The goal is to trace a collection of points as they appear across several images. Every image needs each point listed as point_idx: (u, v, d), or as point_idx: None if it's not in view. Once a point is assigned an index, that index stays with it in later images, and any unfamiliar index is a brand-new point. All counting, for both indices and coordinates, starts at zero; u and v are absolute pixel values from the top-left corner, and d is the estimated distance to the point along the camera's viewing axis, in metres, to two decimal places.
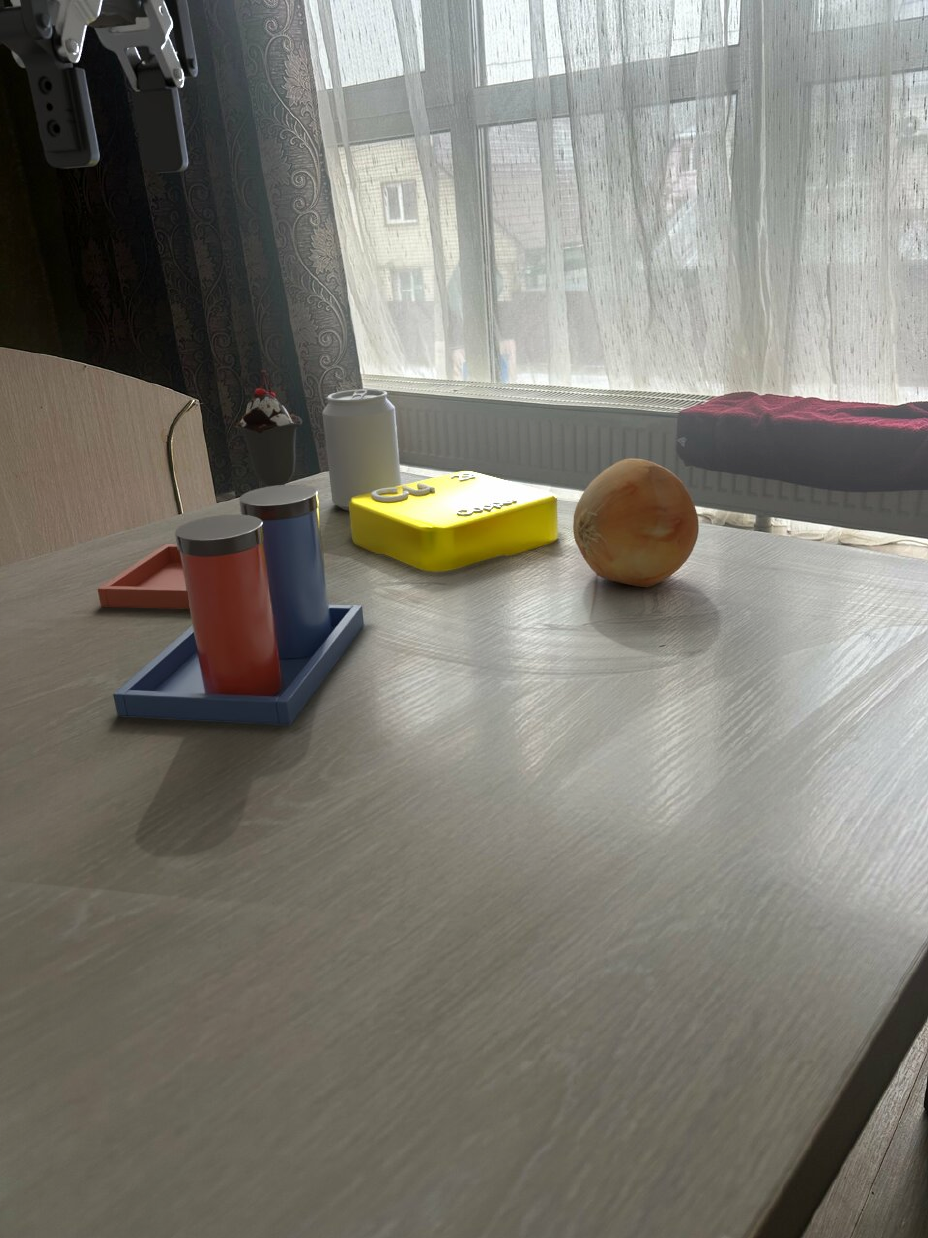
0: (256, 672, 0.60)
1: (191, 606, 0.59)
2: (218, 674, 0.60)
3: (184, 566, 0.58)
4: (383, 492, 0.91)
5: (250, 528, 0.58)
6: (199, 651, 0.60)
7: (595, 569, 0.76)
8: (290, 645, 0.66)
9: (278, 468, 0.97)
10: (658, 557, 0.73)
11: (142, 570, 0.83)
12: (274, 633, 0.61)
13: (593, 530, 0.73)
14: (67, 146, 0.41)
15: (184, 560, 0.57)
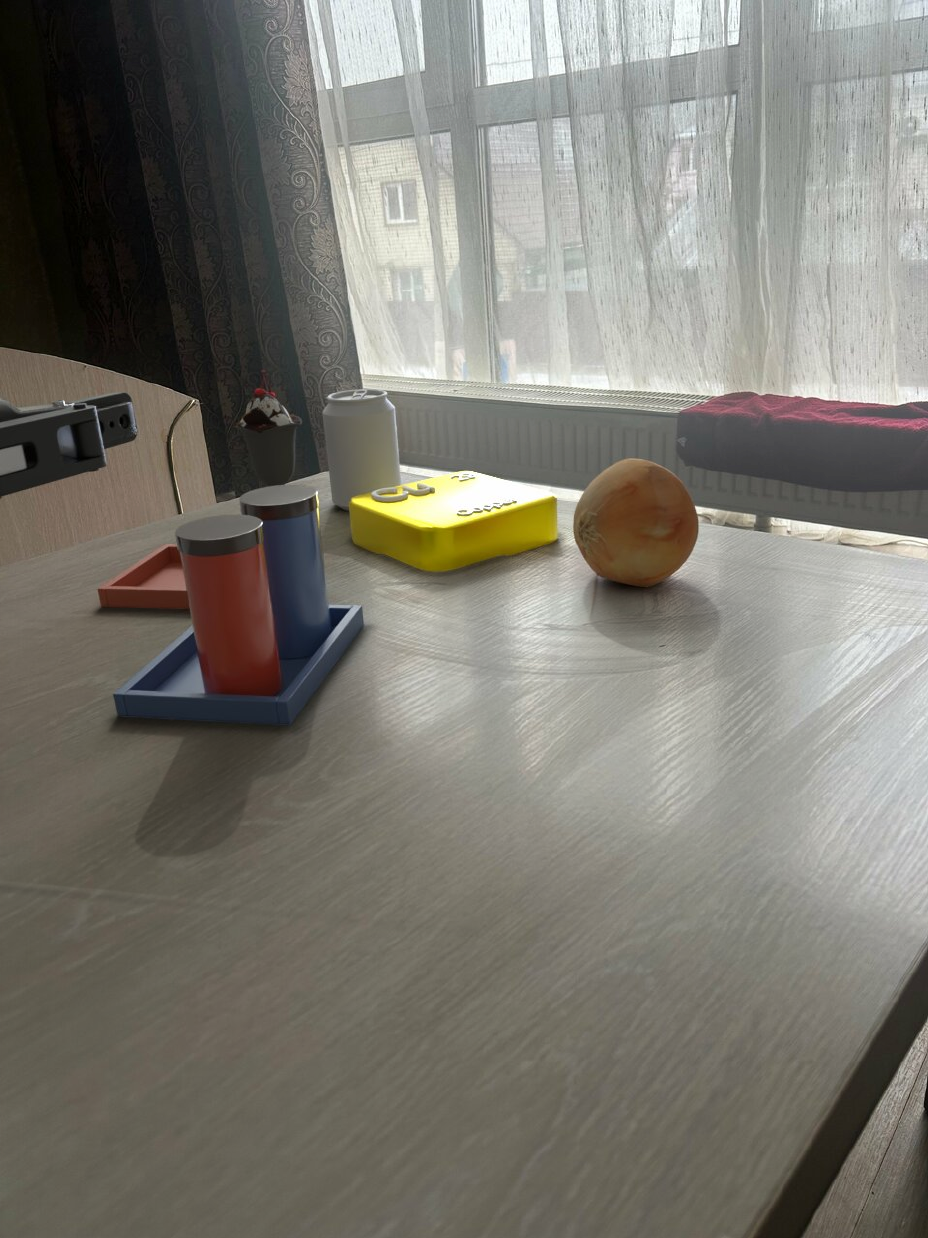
0: (256, 672, 0.60)
1: (191, 606, 0.59)
2: (218, 674, 0.60)
3: (184, 566, 0.58)
4: (383, 492, 0.91)
5: (250, 528, 0.58)
6: (199, 651, 0.60)
7: (595, 569, 0.76)
8: (290, 645, 0.66)
9: (278, 468, 0.97)
10: (658, 557, 0.73)
11: (142, 570, 0.83)
12: (274, 633, 0.61)
13: (593, 530, 0.73)
14: None
15: (184, 560, 0.57)
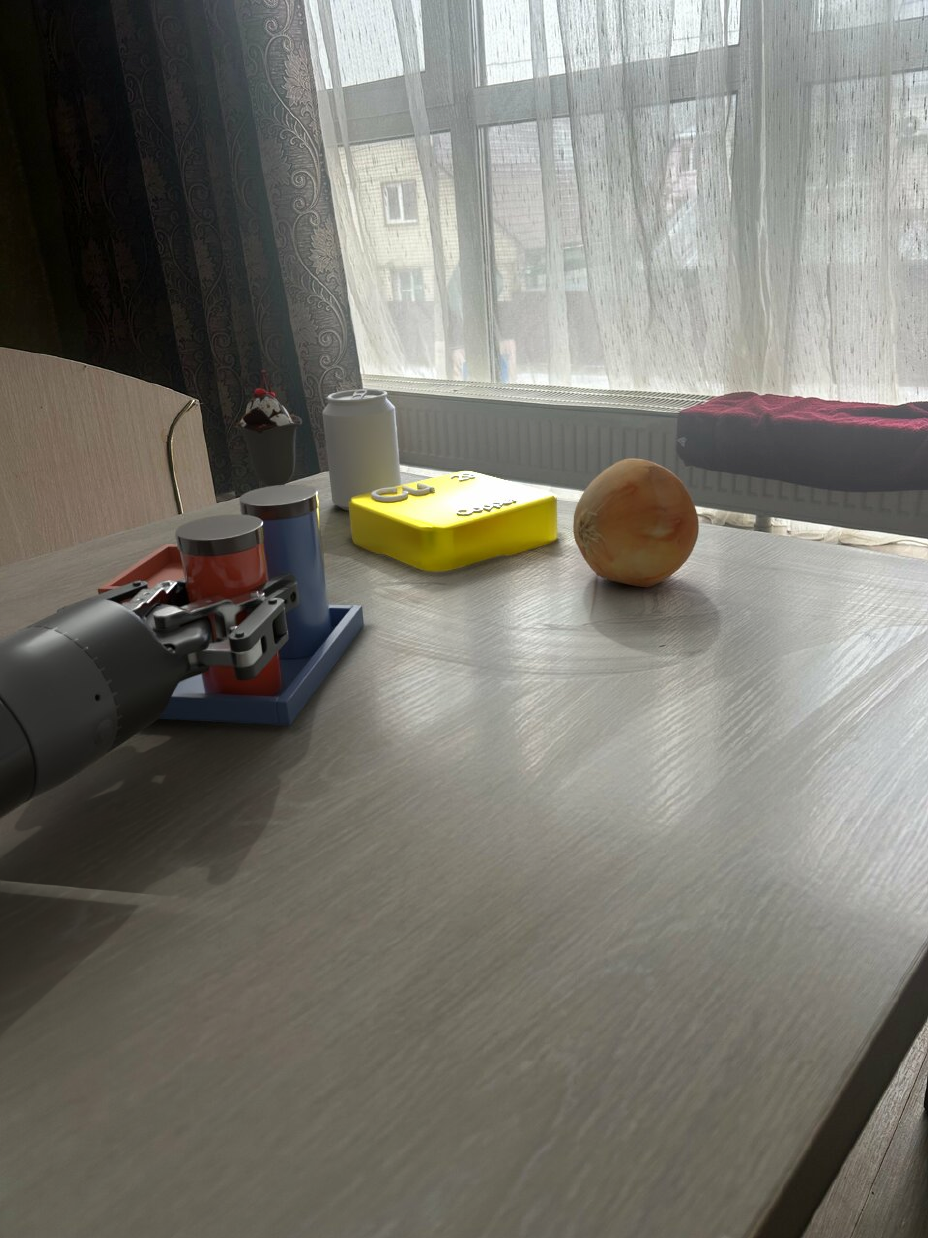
0: None
1: None
2: (218, 674, 0.60)
3: (184, 566, 0.58)
4: (383, 492, 0.91)
5: (250, 528, 0.58)
6: None
7: (595, 569, 0.76)
8: (290, 645, 0.66)
9: (278, 468, 0.97)
10: (658, 557, 0.73)
11: (142, 570, 0.83)
12: None
13: (593, 530, 0.73)
14: None
15: (184, 560, 0.57)
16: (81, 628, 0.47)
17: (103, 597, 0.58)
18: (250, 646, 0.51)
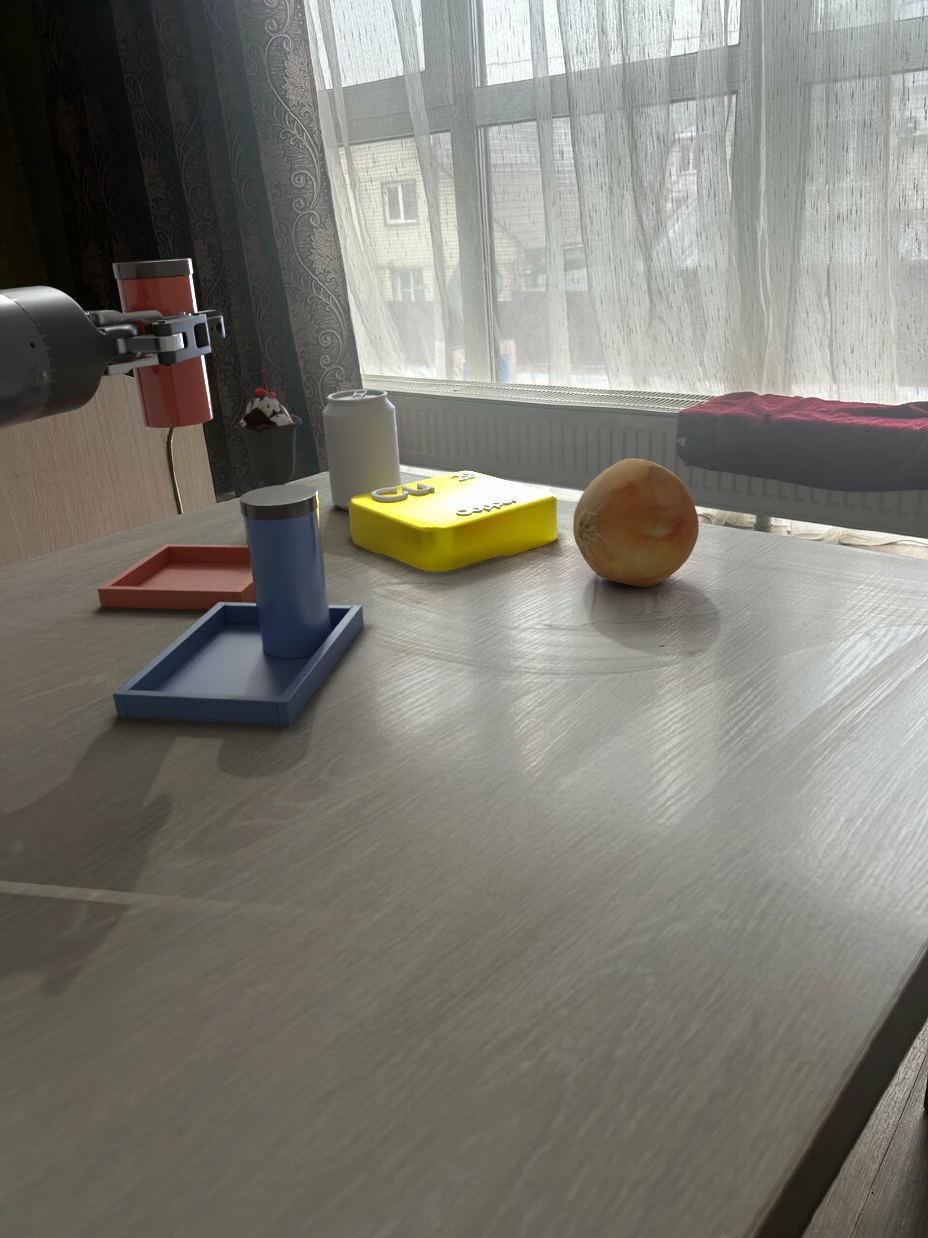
0: (186, 395, 0.68)
1: None
2: (152, 395, 0.67)
3: (121, 293, 0.66)
4: (383, 492, 0.91)
5: (178, 259, 0.66)
6: (136, 376, 0.68)
7: (595, 569, 0.76)
8: (290, 645, 0.66)
9: (278, 468, 0.97)
10: (658, 557, 0.73)
11: (142, 570, 0.83)
12: (203, 364, 0.69)
13: (593, 530, 0.73)
14: None
15: (120, 286, 0.65)
16: (20, 294, 0.55)
17: None
18: (171, 332, 0.59)
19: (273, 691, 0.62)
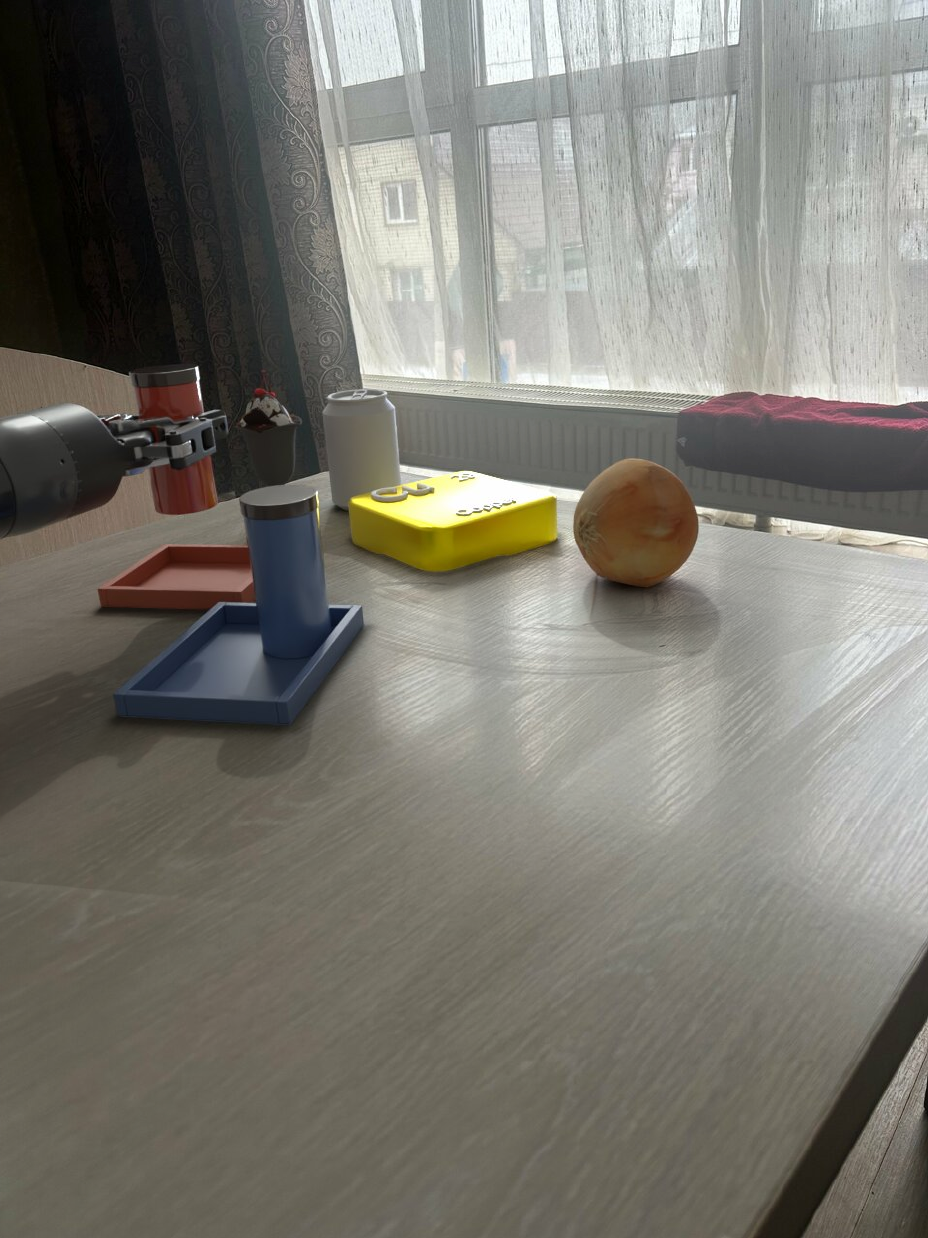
0: (193, 486, 0.76)
1: None
2: (163, 486, 0.76)
3: (136, 398, 0.74)
4: (383, 492, 0.91)
5: (187, 368, 0.74)
6: (149, 470, 0.76)
7: (595, 569, 0.76)
8: (290, 645, 0.66)
9: (278, 468, 0.97)
10: (658, 557, 0.73)
11: (142, 570, 0.83)
12: (209, 458, 0.77)
13: (593, 530, 0.73)
14: None
15: (136, 392, 0.74)
16: (51, 415, 0.64)
17: None
18: (181, 441, 0.68)
19: (273, 691, 0.62)
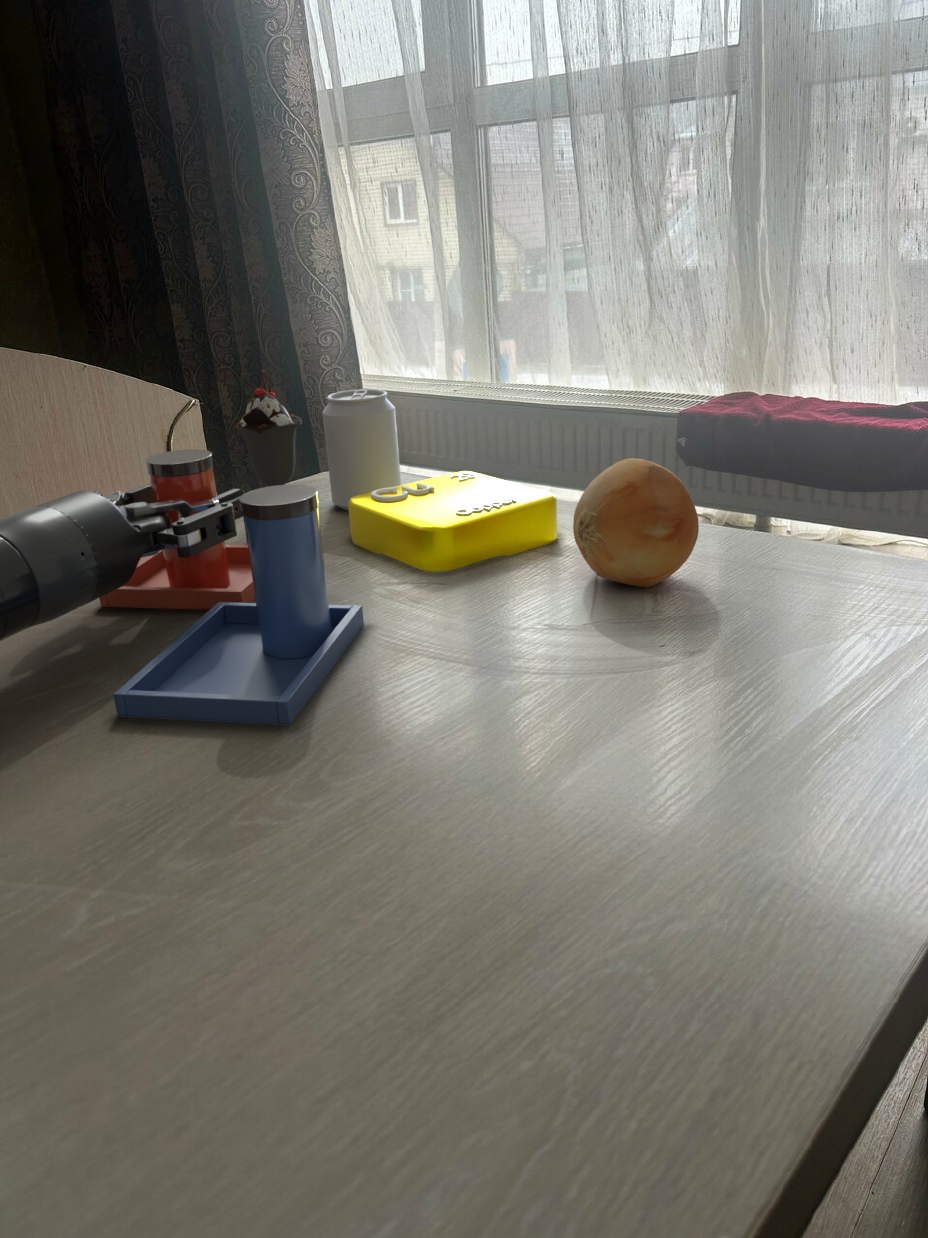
0: (207, 568, 0.79)
1: None
2: (178, 569, 0.79)
3: (152, 485, 0.77)
4: (382, 492, 0.91)
5: (201, 457, 0.77)
6: (164, 552, 0.79)
7: (595, 569, 0.76)
8: (290, 645, 0.66)
9: (278, 468, 0.97)
10: (658, 557, 0.73)
11: (142, 570, 0.83)
12: None
13: (593, 530, 0.73)
14: None
15: (152, 480, 0.76)
16: (71, 507, 0.66)
17: None
18: (186, 532, 0.69)
19: (273, 691, 0.62)
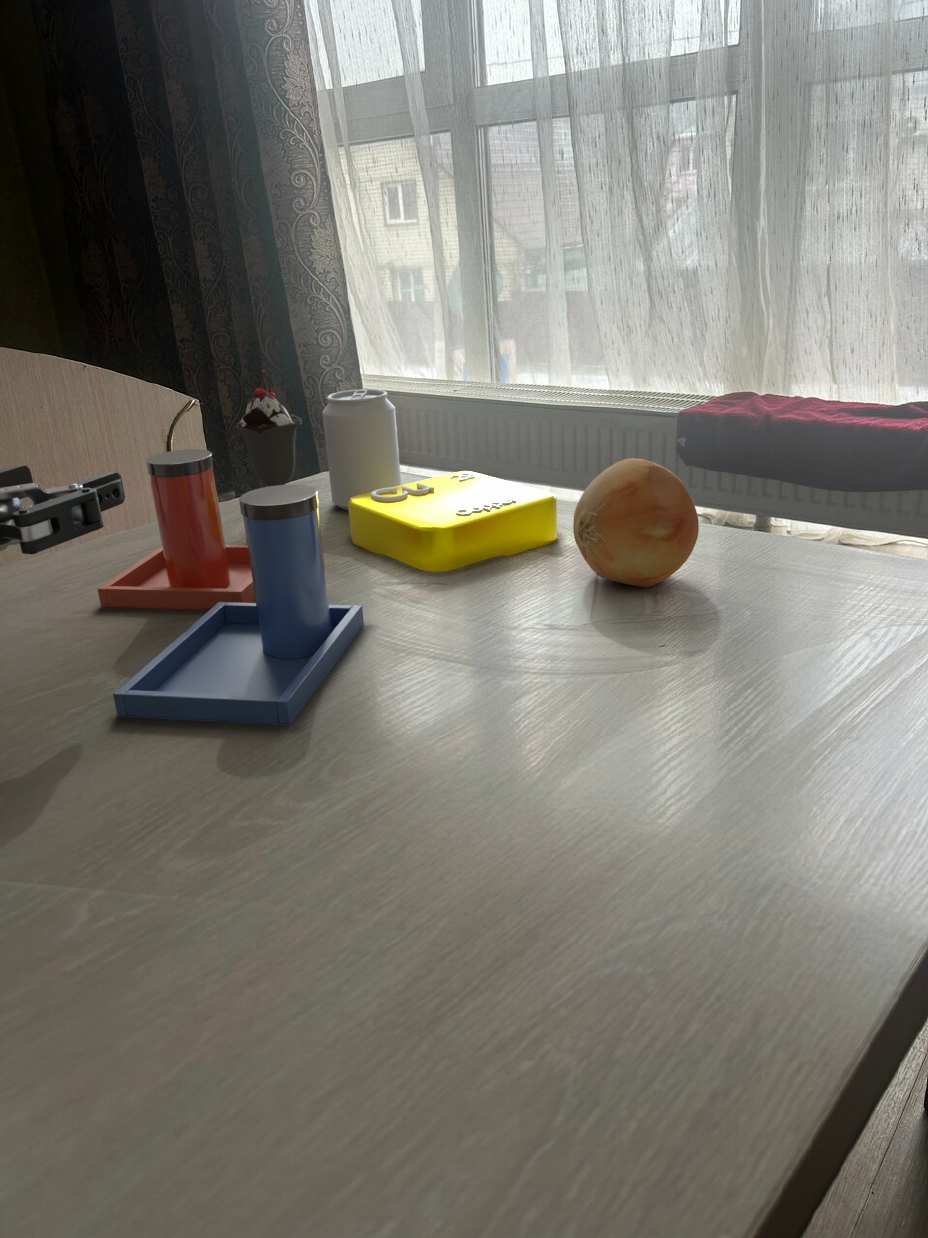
0: (207, 568, 0.79)
1: (158, 517, 0.78)
2: (178, 569, 0.79)
3: (152, 485, 0.77)
4: (382, 492, 0.91)
5: (201, 457, 0.77)
6: (164, 552, 0.79)
7: (595, 569, 0.76)
8: (290, 645, 0.66)
9: (278, 468, 0.97)
10: (658, 557, 0.73)
11: (142, 570, 0.83)
12: (222, 540, 0.80)
13: (593, 530, 0.73)
14: None
15: (152, 480, 0.76)
16: None
17: None
18: (30, 523, 0.57)
19: (273, 691, 0.62)
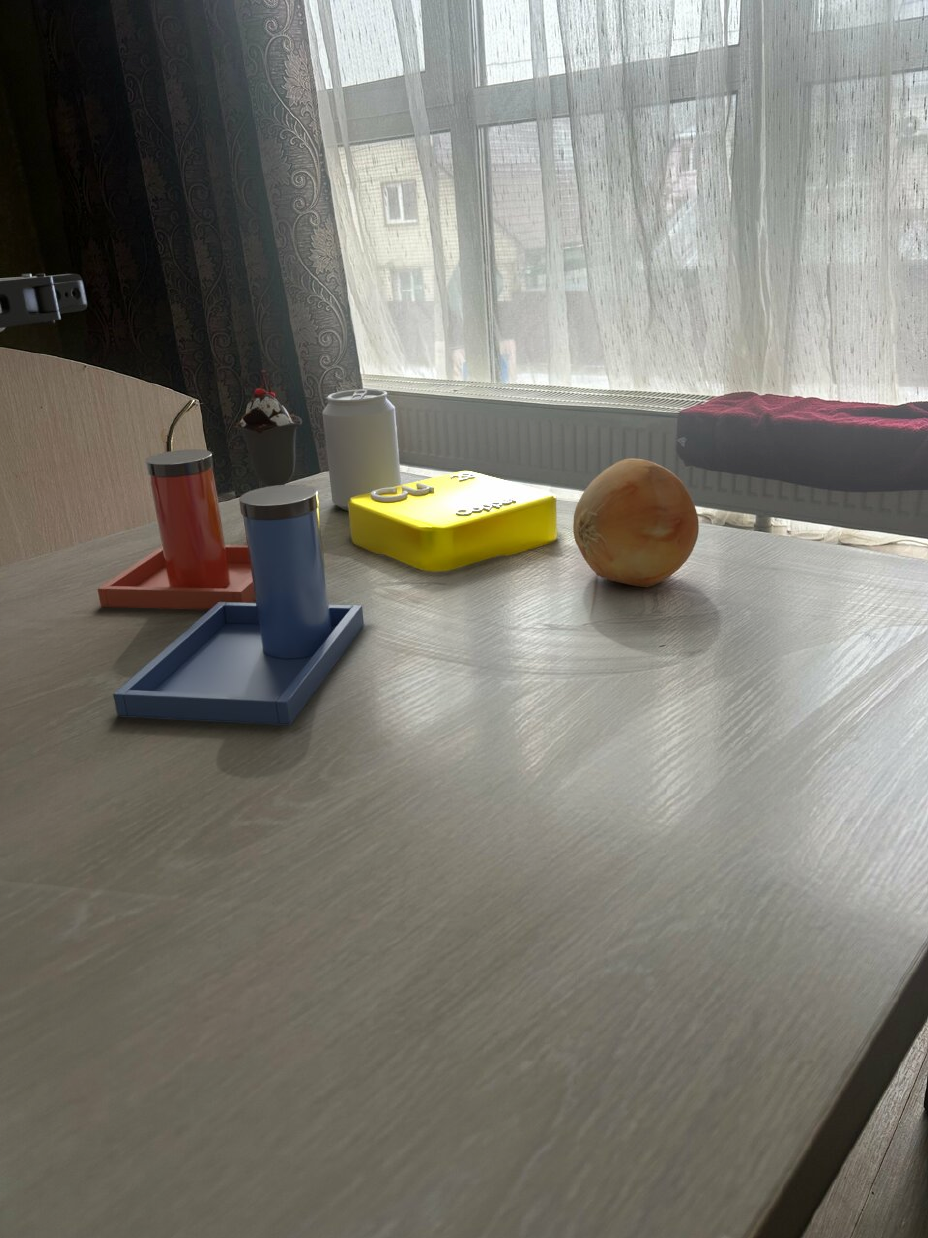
0: (207, 568, 0.79)
1: (158, 517, 0.78)
2: (178, 569, 0.79)
3: (152, 485, 0.77)
4: (382, 492, 0.91)
5: (201, 457, 0.77)
6: (164, 552, 0.79)
7: (595, 569, 0.76)
8: (290, 645, 0.66)
9: (278, 468, 0.97)
10: (658, 557, 0.73)
11: (142, 570, 0.83)
12: (222, 540, 0.80)
13: (593, 530, 0.73)
14: None
15: (152, 480, 0.76)
16: None
17: None
18: None
19: (273, 691, 0.62)
